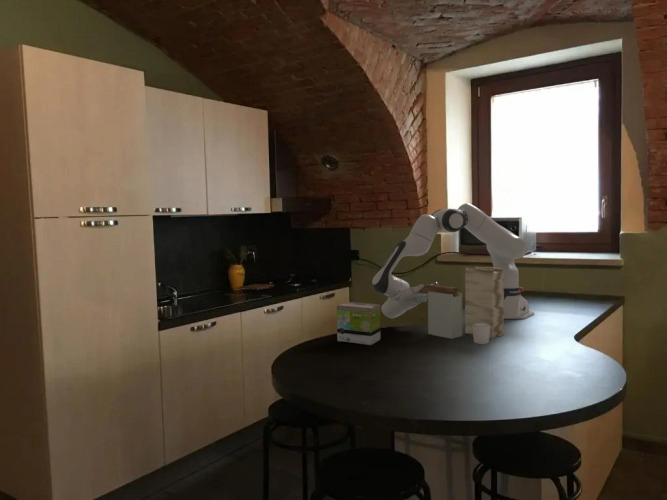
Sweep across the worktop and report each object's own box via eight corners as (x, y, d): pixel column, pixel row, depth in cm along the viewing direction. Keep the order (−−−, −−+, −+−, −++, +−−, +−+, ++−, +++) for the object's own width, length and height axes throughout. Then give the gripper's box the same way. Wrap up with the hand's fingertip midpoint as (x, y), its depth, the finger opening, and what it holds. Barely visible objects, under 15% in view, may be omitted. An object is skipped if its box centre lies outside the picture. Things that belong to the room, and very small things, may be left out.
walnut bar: (423, 291, 231) (423, 283, 231) (458, 296, 217) (458, 287, 217) (418, 292, 229) (418, 284, 228) (452, 297, 215) (452, 288, 215)
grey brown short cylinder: (488, 340, 211) (488, 322, 210) (492, 344, 204) (492, 326, 204) (470, 340, 211) (470, 322, 211) (473, 344, 205) (473, 326, 204)
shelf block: (477, 330, 229) (476, 266, 228) (503, 334, 219) (503, 268, 218) (465, 332, 224) (465, 268, 222) (492, 337, 214) (492, 270, 212)
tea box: (336, 342, 213) (335, 305, 212) (347, 336, 222) (347, 301, 221) (371, 345, 206) (370, 307, 205) (381, 340, 215) (380, 303, 214)
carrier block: (439, 331, 228) (438, 290, 227) (462, 335, 219) (462, 292, 218) (428, 334, 224) (427, 291, 222) (451, 338, 214) (451, 294, 213)
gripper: (389, 294, 230) (410, 280, 220) (421, 289, 243) (442, 275, 233) (395, 307, 228) (416, 294, 218) (426, 301, 241) (448, 289, 231)
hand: (430, 284), depth 226 cm, fingers open, 8 cm apart
